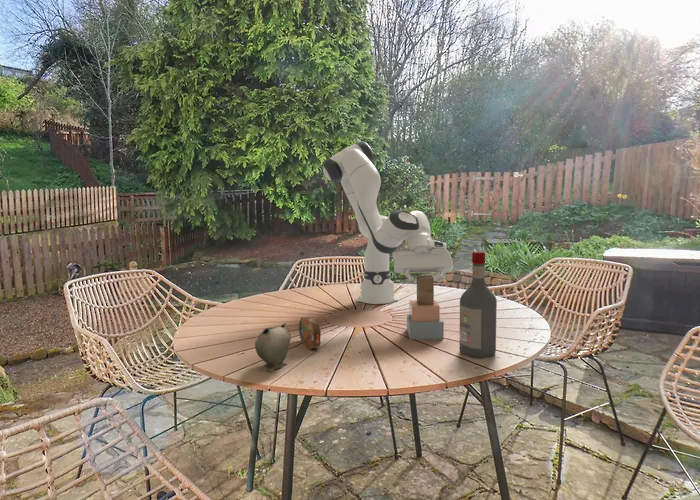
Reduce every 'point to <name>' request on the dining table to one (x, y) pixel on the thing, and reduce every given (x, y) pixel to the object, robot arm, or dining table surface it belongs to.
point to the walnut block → (425, 290)
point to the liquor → (478, 314)
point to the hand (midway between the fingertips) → (425, 281)
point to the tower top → (424, 311)
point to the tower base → (425, 329)
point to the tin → (309, 332)
